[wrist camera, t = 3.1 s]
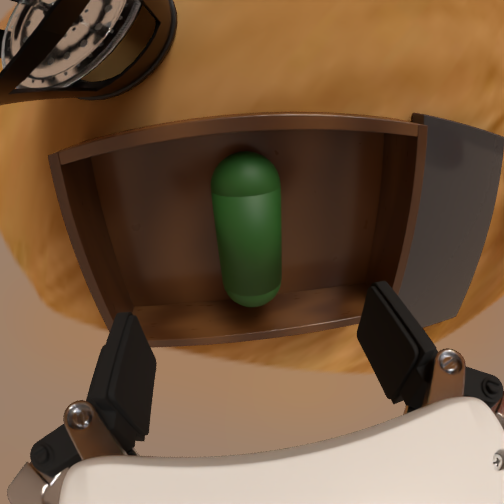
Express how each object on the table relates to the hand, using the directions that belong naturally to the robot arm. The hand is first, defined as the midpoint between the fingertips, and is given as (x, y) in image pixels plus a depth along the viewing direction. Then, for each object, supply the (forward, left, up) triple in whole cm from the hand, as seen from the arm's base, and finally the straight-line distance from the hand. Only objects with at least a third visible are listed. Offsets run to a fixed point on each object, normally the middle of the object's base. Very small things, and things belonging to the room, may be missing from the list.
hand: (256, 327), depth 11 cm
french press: (+8, -15, -10) cm, 20 cm away
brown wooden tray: (0, 0, -10) cm, 10 cm away
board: (-19, +3, -10) cm, 22 cm away
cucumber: (0, 0, -10) cm, 10 cm away
